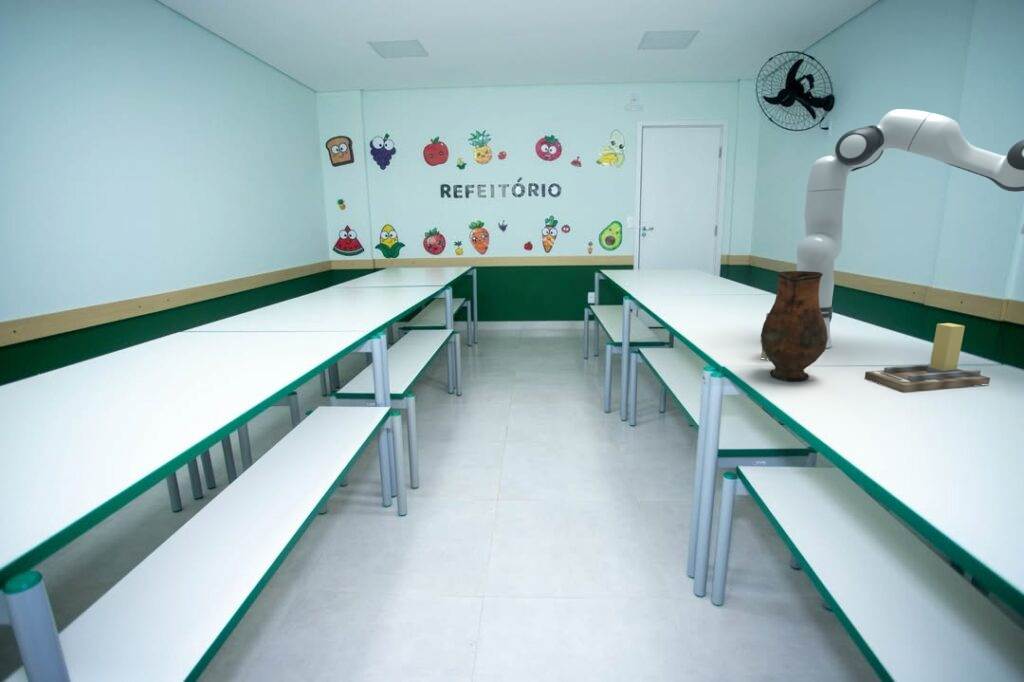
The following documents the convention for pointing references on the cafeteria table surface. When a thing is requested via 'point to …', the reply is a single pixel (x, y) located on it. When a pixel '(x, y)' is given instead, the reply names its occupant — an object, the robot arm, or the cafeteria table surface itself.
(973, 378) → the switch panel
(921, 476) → the cafeteria table surface
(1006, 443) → the cafeteria table surface
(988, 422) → the cafeteria table surface
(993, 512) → the cafeteria table surface
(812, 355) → the brown vase
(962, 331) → the slider tab
